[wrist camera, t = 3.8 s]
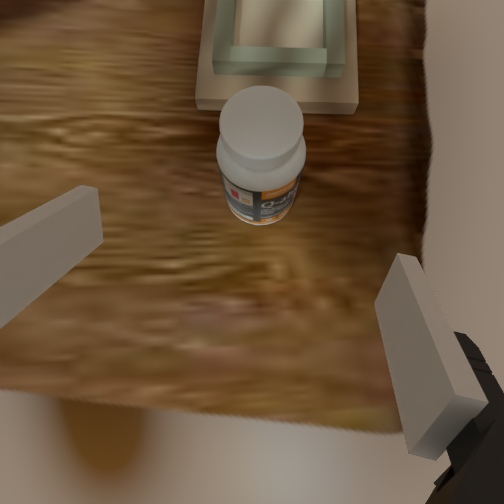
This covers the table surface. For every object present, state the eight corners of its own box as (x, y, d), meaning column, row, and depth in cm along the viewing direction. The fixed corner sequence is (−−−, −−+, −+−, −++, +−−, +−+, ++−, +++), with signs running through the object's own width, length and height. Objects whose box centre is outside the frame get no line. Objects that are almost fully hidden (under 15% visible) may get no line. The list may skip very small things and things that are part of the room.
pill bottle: (272, 239, 26) (281, 187, 17) (213, 206, 27) (188, 138, 17) (306, 183, 27) (332, 104, 18) (248, 153, 28) (243, 61, 18)
